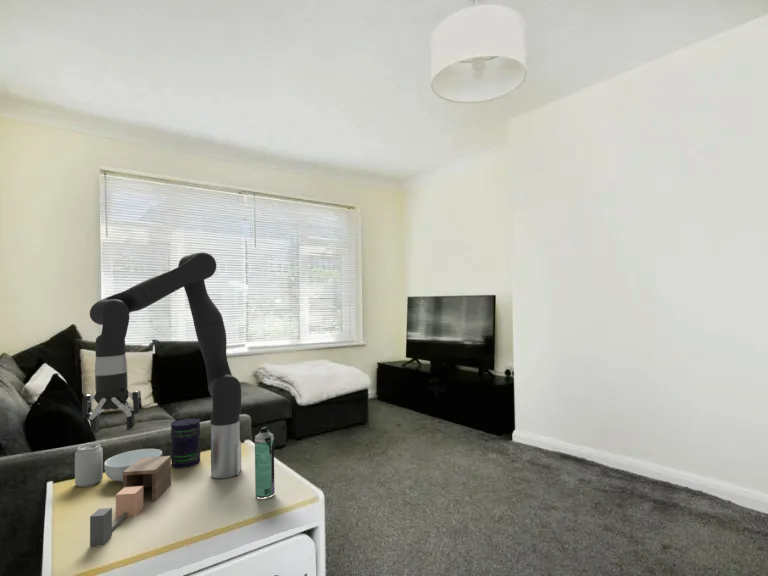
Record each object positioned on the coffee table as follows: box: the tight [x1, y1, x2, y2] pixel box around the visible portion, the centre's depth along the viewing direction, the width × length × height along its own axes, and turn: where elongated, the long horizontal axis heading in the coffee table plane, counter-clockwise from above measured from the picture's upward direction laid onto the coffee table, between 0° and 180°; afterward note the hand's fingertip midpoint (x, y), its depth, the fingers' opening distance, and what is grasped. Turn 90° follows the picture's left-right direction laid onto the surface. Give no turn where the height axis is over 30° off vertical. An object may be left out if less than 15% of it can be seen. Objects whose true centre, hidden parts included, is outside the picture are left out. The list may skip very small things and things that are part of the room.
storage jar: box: [170, 417, 201, 469], centre depth 157 cm, size 10×10×15 cm
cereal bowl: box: [103, 448, 163, 483], centre depth 144 cm, size 17×17×7 cm
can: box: [74, 443, 104, 488], centre depth 141 cm, size 8×8×12 cm
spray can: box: [254, 426, 276, 498], centre depth 128 cm, size 6×6×20 cm
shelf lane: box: [122, 455, 172, 502], centre depth 132 cm, size 9×12×9 cm
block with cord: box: [89, 486, 144, 547], centre depth 112 cm, size 5×20×7 cm, turn 7°
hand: (113, 430), depth 119 cm, fingers open, 8 cm apart
